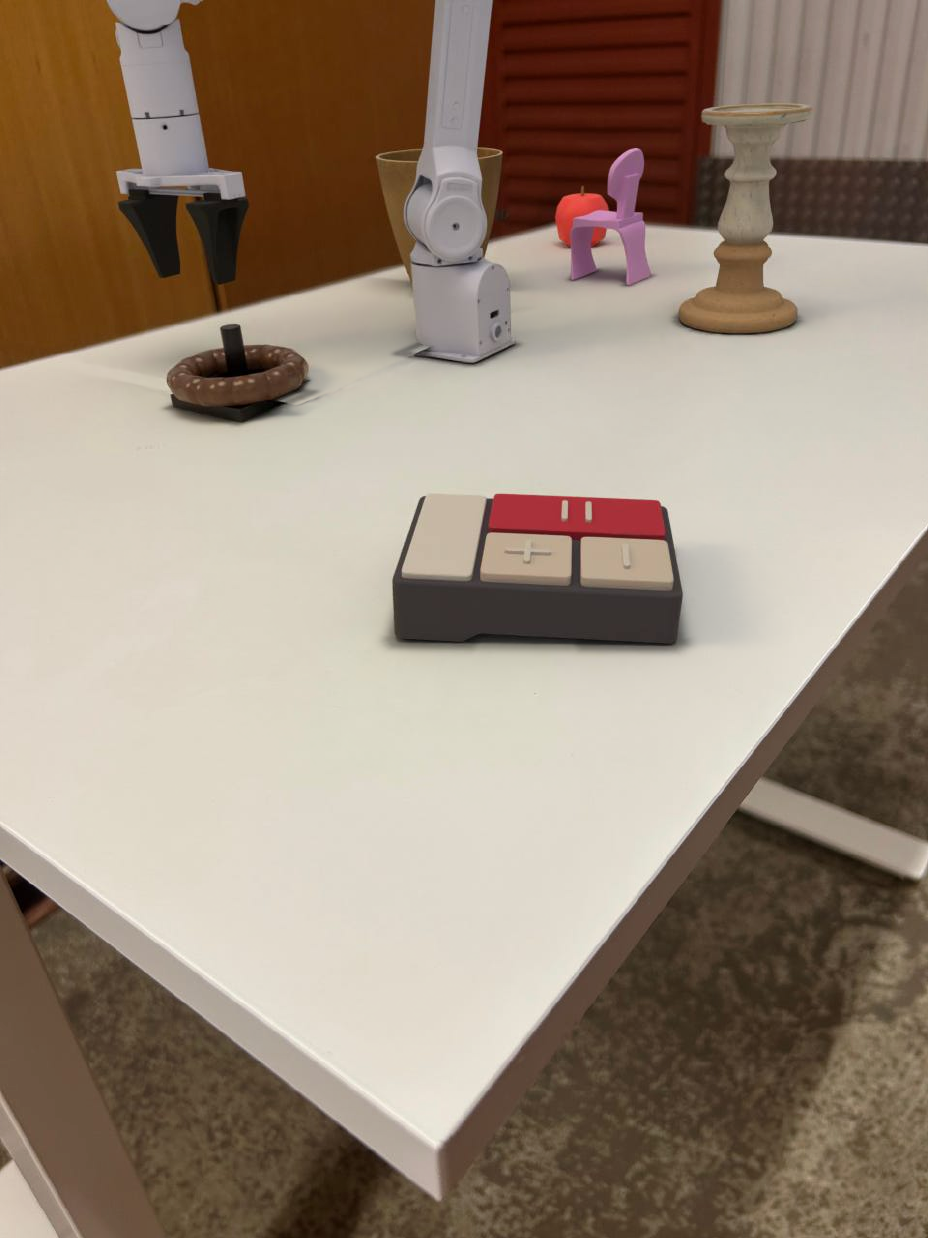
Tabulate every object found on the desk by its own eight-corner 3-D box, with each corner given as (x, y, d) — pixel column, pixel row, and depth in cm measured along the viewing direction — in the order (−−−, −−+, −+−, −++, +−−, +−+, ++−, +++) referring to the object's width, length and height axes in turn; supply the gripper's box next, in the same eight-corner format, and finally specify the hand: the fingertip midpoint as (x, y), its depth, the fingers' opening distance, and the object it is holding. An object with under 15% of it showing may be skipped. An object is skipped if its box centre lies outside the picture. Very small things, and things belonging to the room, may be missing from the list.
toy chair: (595, 268, 128) (597, 143, 120) (655, 273, 124) (661, 144, 116) (563, 281, 123) (564, 151, 115) (625, 287, 118) (629, 152, 110)
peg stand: (312, 392, 89) (302, 319, 86) (241, 422, 83) (227, 345, 79) (244, 379, 94) (232, 309, 90) (172, 407, 88) (156, 333, 84)
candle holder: (667, 331, 100) (680, 114, 90) (689, 302, 110) (703, 103, 99) (789, 337, 96) (818, 111, 86) (801, 307, 106) (828, 100, 95)
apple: (552, 250, 140) (552, 191, 136) (557, 240, 147) (557, 183, 142) (607, 249, 139) (609, 189, 134) (609, 238, 145) (611, 181, 141)
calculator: (686, 583, 48) (389, 569, 49) (676, 655, 50) (393, 639, 51) (668, 493, 57) (419, 482, 58) (660, 556, 59) (421, 545, 61)
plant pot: (419, 313, 112) (408, 163, 104) (370, 290, 124) (356, 154, 115) (528, 294, 118) (526, 150, 109) (471, 274, 129) (465, 142, 121)
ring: (336, 377, 89) (333, 351, 88) (238, 418, 80) (233, 390, 79) (242, 360, 95) (238, 336, 94) (142, 397, 87) (136, 370, 85)
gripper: (75, 120, 84) (112, 281, 91) (187, 119, 76) (218, 294, 84) (139, 113, 89) (170, 266, 96) (250, 111, 81) (275, 277, 88)
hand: (197, 278), depth 90 cm, fingers open, 7 cm apart
